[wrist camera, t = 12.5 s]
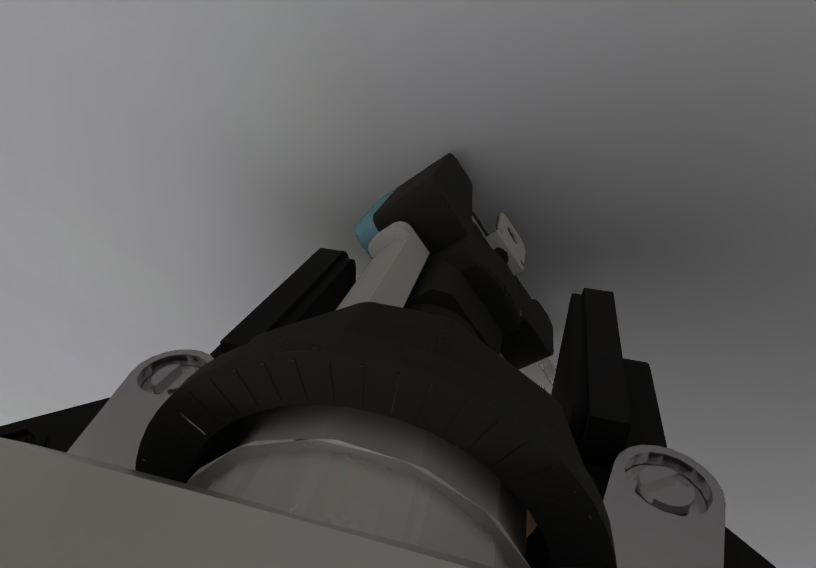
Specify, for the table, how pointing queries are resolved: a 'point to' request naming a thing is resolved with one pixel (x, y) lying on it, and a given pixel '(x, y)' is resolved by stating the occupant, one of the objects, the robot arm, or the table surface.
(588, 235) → the table surface
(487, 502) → the push button
